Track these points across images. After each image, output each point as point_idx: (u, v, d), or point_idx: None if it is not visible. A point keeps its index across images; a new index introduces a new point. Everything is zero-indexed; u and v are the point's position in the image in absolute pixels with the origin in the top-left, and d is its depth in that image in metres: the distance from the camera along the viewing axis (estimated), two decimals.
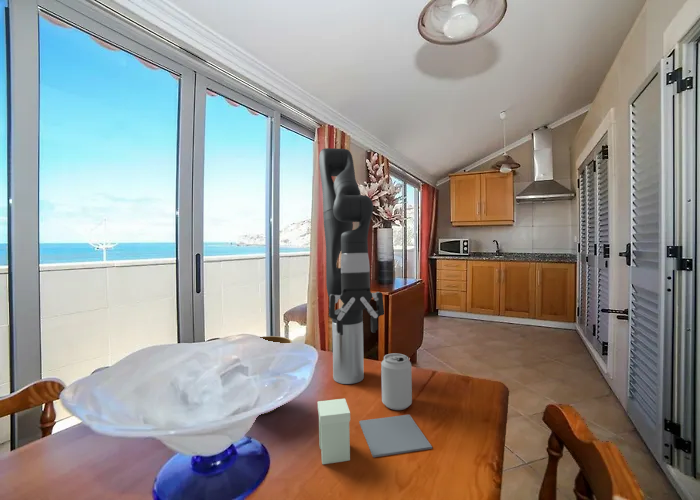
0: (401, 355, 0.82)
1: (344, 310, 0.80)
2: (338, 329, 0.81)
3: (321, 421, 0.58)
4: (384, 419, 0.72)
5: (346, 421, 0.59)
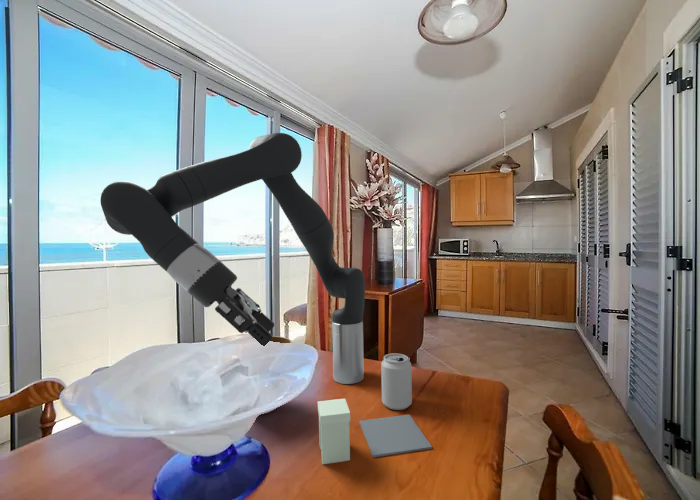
0: (401, 355, 0.82)
1: None
2: None
3: (321, 421, 0.58)
4: (384, 419, 0.72)
5: (346, 421, 0.59)
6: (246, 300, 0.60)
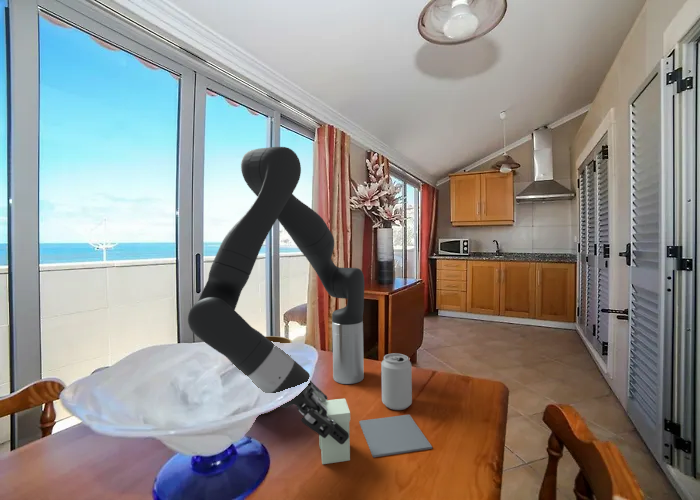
0: (401, 355, 0.82)
1: None
2: None
3: None
4: (384, 419, 0.72)
5: (346, 421, 0.59)
6: (317, 395, 0.62)
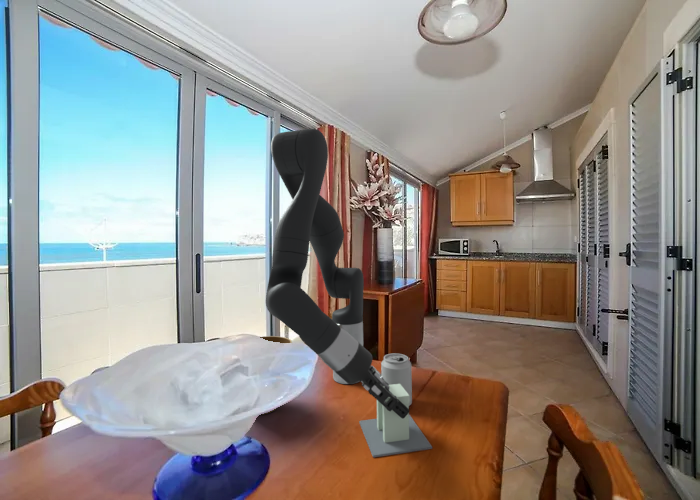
0: (401, 355, 0.82)
1: None
2: None
3: None
4: None
5: (406, 403, 0.65)
6: None
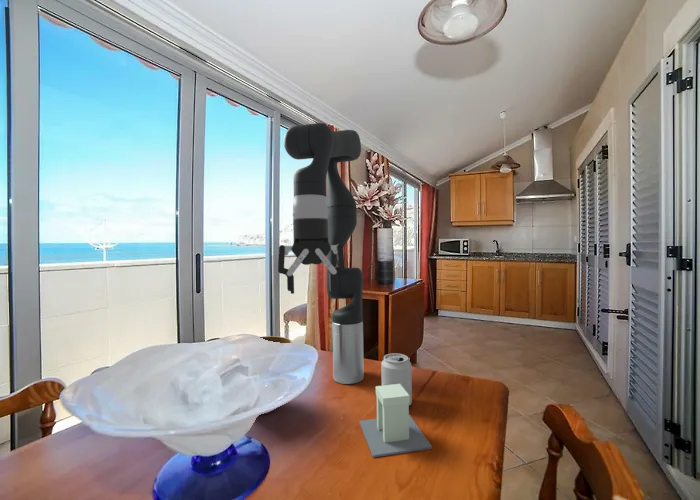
0: (401, 355, 0.82)
1: (295, 264, 0.67)
2: (288, 286, 0.68)
3: (384, 403, 0.64)
4: None
5: (406, 403, 0.65)
6: None
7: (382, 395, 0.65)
